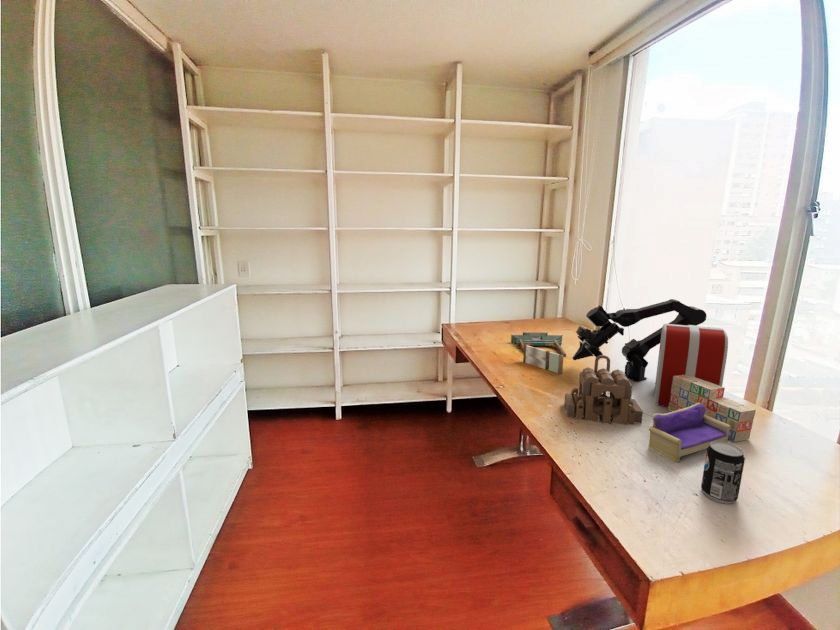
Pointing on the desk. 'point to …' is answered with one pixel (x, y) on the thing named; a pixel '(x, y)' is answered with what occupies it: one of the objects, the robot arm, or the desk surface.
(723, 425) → the toy sofa
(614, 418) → the wooden puzzle
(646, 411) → the desk surface
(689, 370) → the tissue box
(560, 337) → the miniature gate
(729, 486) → the beverage can
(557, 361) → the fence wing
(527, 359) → the fence section
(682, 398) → the stack of blocks
